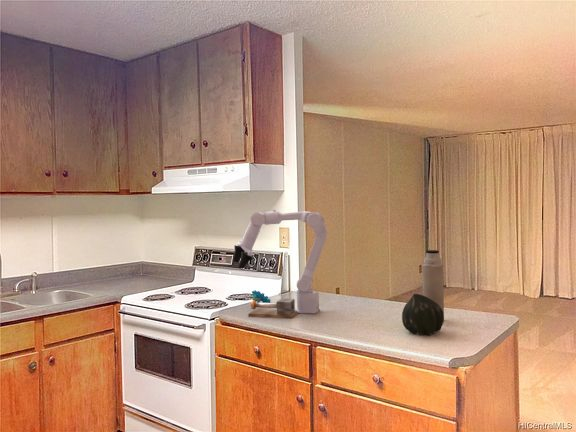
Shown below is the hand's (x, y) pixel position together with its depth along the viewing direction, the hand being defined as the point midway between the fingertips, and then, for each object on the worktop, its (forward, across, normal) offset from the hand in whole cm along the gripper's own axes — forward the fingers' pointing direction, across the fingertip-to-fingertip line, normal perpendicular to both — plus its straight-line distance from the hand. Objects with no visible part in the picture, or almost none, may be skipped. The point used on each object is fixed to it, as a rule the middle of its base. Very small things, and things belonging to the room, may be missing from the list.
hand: (237, 264), depth 212 cm
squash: (-14, +70, +45) cm, 85 cm away
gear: (+16, -1, +20) cm, 26 cm away
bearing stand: (+12, +19, +16) cm, 27 cm away
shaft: (+11, +17, +13) cm, 24 cm away
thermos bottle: (-17, +60, +60) cm, 86 cm away
